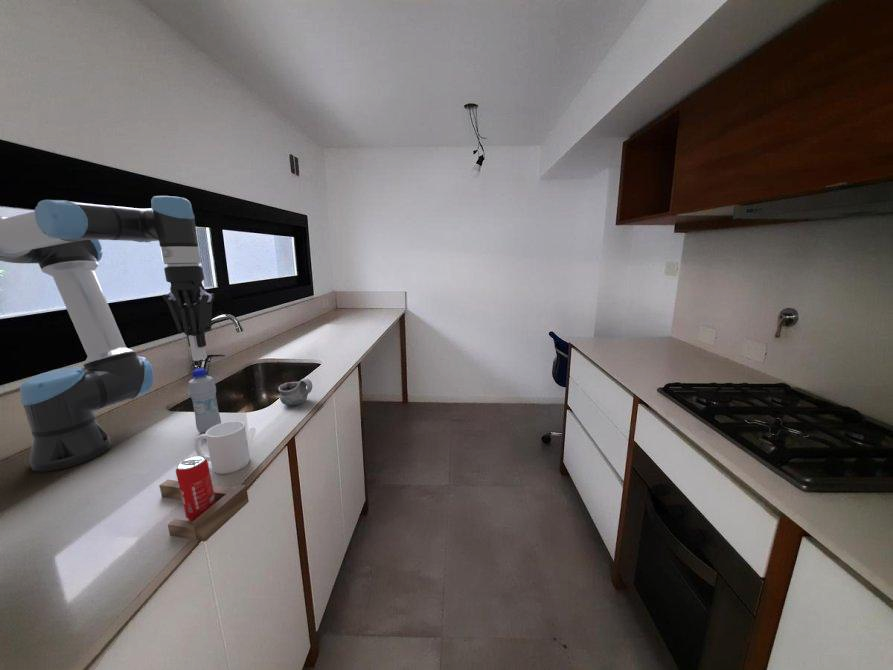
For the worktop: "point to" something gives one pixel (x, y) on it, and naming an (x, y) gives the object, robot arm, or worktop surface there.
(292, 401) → the mug
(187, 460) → the beverage can
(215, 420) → the bottle
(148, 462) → the worktop surface
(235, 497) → the hook tool
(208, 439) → the cup
